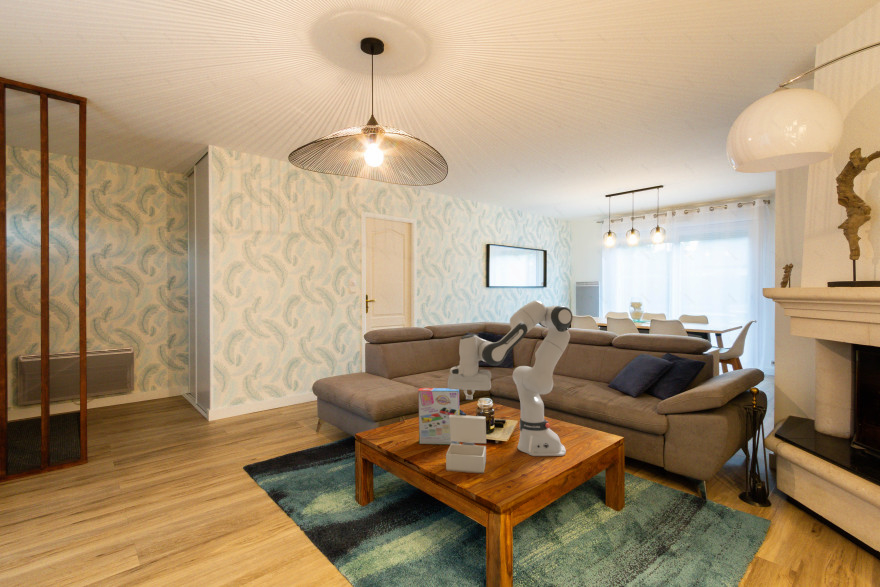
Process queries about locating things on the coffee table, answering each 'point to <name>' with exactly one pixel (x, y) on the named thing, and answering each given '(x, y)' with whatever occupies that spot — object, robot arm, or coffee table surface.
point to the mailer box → (466, 458)
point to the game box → (436, 414)
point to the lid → (468, 429)
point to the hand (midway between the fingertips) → (469, 399)
